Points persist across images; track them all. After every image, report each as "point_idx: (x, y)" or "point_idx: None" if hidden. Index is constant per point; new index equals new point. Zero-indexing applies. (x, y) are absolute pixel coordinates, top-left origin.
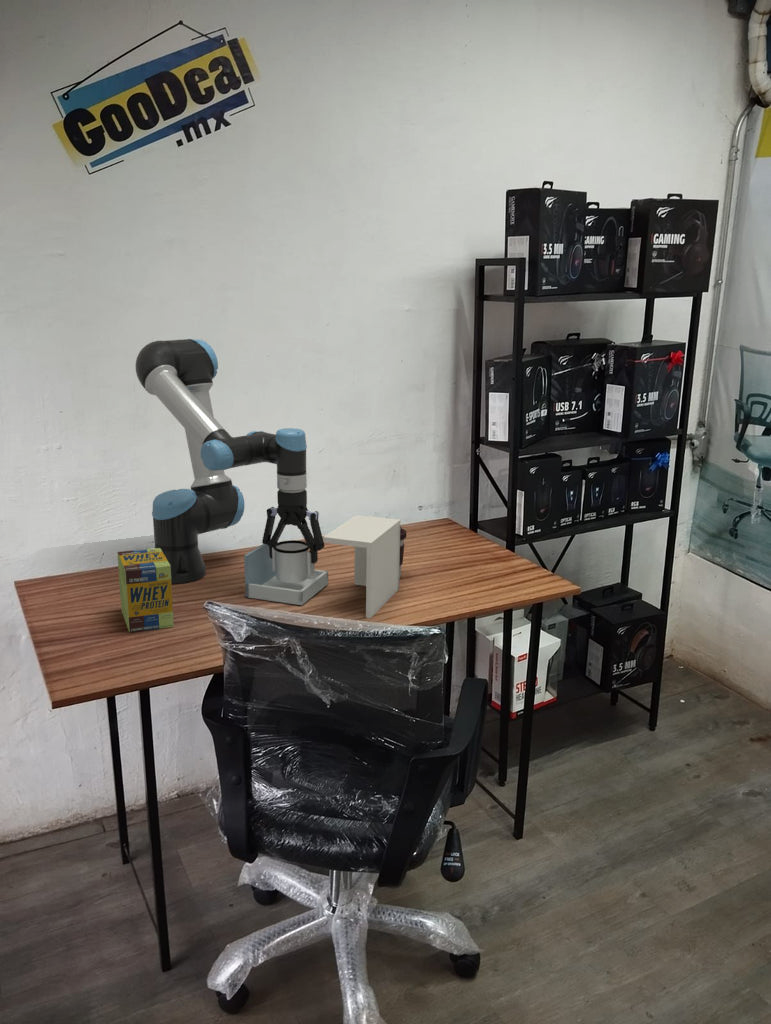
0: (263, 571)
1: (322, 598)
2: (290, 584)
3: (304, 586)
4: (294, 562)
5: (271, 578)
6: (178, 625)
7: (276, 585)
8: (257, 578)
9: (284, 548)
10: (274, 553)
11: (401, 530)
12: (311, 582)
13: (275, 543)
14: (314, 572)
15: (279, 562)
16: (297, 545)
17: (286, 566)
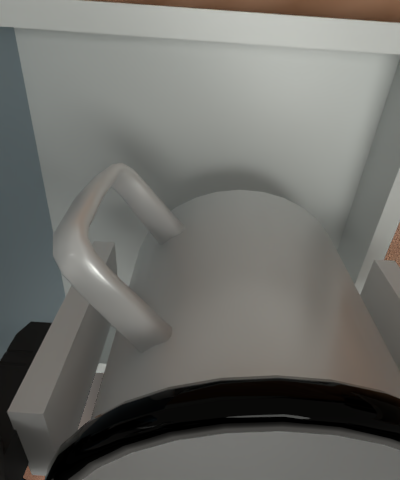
0: (17, 253)
1: (392, 240)
2: (196, 183)
3: (286, 189)
4: (301, 462)
5: (34, 120)
6: (33, 475)
7: (129, 219)
8: (41, 302)
9: (120, 384)
10: (77, 420)
11: None
12: (361, 282)
13: (2, 466)
14: (395, 266)
15: (184, 450)
16: (270, 370)
17: (241, 439)
